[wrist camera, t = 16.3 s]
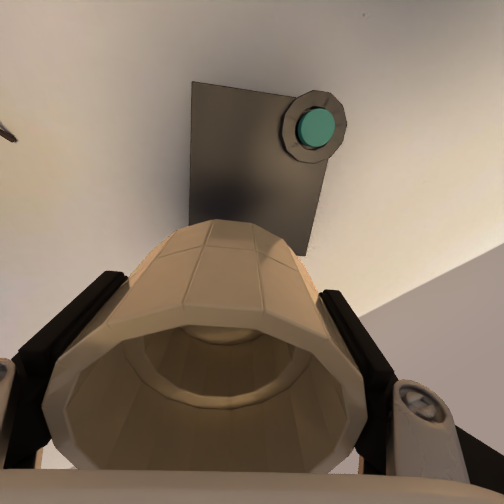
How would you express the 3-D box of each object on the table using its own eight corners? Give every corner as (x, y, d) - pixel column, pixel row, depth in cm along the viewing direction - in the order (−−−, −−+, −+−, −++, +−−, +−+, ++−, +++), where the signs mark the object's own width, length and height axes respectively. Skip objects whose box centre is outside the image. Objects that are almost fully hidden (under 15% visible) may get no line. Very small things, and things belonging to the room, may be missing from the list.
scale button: (300, 108, 22) (305, 105, 20) (332, 113, 22) (339, 110, 20) (294, 144, 23) (297, 144, 21) (324, 148, 23) (330, 148, 22)
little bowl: (139, 206, 9) (-2, 289, 4) (321, 226, 10) (418, 321, 5) (148, 347, 12) (74, 509, 7) (289, 356, 13) (324, 509, 7)
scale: (194, 78, 23) (187, 69, 20) (341, 102, 24) (354, 96, 21) (190, 240, 29) (185, 250, 26) (306, 252, 30) (312, 262, 28)
